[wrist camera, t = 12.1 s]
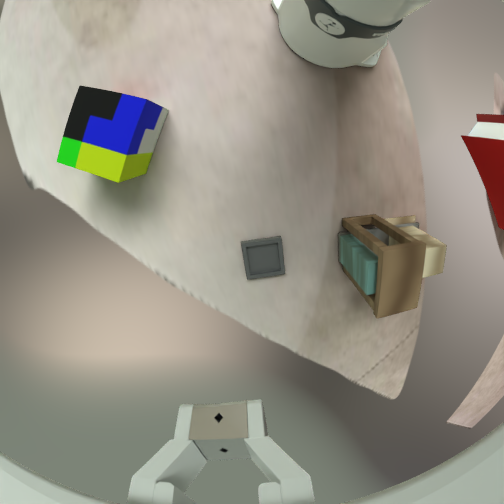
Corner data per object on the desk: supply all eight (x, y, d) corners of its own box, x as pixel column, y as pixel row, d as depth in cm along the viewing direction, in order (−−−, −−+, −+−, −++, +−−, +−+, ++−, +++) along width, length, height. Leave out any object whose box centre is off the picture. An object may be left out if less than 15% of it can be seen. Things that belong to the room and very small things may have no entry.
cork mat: (381, 257, 44) (381, 258, 43) (382, 219, 41) (383, 219, 41) (412, 252, 44) (413, 252, 43) (414, 215, 41) (415, 215, 41)
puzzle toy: (169, 110, 34) (146, 99, 24) (146, 173, 37) (118, 182, 28) (112, 96, 32) (79, 85, 23) (92, 156, 35) (56, 161, 26)
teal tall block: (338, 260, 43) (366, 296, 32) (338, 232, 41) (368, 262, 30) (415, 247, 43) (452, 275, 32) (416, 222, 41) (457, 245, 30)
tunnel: (341, 270, 44) (377, 318, 31) (340, 217, 41) (383, 251, 27) (374, 264, 44) (416, 307, 31) (376, 213, 41) (426, 243, 27)
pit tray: (246, 276, 44) (247, 279, 43) (241, 241, 41) (241, 243, 40) (284, 271, 44) (284, 273, 43) (280, 235, 41) (281, 238, 40)
